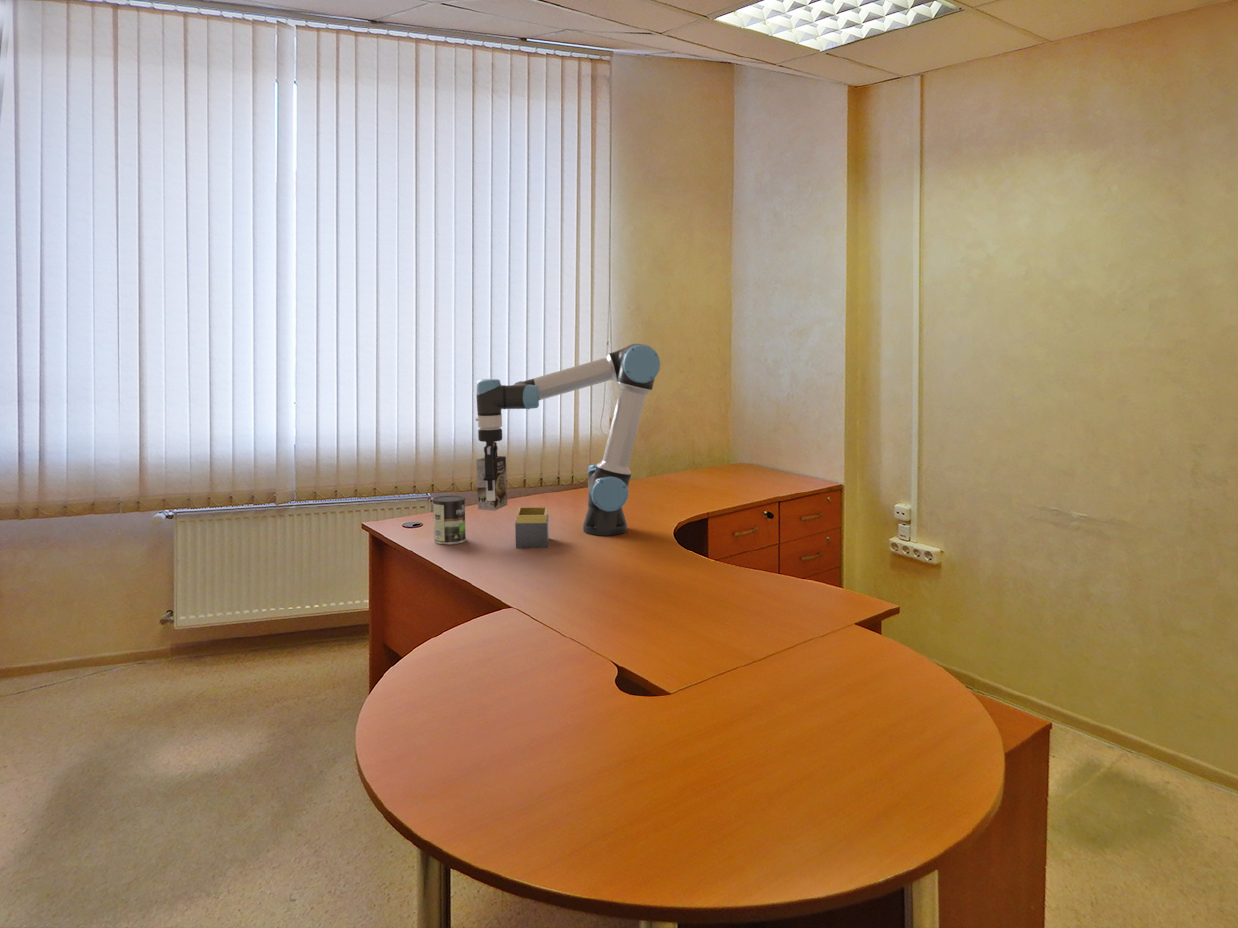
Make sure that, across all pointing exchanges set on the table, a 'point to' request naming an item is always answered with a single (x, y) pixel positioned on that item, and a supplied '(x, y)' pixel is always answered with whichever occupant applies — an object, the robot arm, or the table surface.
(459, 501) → the coffee can
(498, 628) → the table surface
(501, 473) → the coffee box
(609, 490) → the robot arm
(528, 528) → the grey yellow open box
